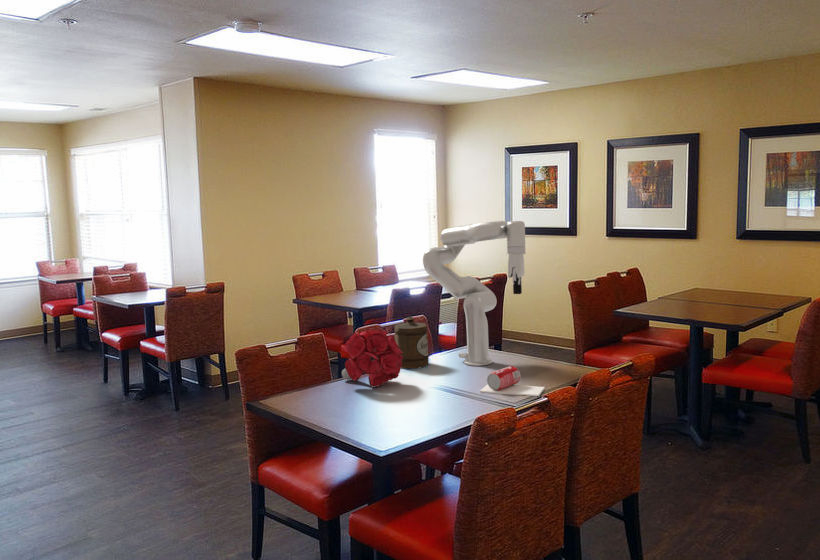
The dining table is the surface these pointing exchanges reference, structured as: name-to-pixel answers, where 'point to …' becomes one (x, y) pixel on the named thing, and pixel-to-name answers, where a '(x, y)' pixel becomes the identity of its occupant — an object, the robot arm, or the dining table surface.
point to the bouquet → (372, 357)
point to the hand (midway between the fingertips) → (517, 293)
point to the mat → (516, 390)
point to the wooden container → (412, 343)
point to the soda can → (503, 378)
